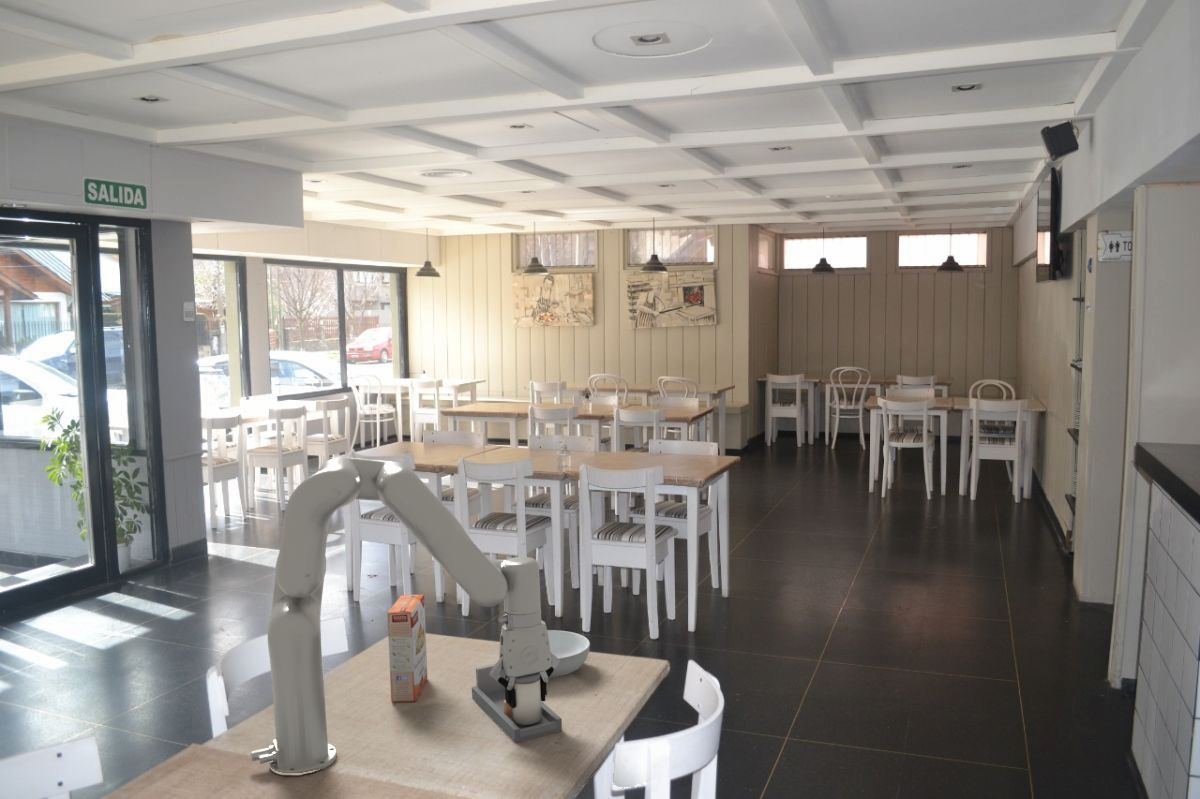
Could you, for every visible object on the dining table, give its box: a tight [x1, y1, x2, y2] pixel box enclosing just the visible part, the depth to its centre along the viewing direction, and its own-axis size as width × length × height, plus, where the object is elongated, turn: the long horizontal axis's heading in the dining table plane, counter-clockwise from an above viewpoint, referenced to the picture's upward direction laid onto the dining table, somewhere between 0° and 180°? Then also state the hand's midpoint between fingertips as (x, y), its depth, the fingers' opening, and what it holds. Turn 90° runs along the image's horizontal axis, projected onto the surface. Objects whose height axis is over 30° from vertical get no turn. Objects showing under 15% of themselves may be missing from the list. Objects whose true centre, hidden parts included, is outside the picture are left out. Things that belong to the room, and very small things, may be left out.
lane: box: [471, 663, 563, 743], centre depth 202 cm, size 10×26×7 cm, turn 27°
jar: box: [512, 672, 542, 725], centre depth 195 cm, size 6×6×10 cm
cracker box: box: [386, 594, 428, 703], centre depth 216 cm, size 14×6×21 cm, turn 179°
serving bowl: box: [547, 629, 591, 679], centre depth 226 cm, size 21×21×7 cm
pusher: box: [504, 700, 513, 718], centre depth 200 cm, size 7×5×4 cm
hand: (526, 701), depth 195 cm, fingers closed on jar, 6 cm apart
